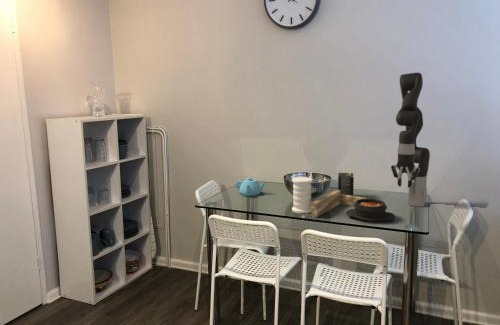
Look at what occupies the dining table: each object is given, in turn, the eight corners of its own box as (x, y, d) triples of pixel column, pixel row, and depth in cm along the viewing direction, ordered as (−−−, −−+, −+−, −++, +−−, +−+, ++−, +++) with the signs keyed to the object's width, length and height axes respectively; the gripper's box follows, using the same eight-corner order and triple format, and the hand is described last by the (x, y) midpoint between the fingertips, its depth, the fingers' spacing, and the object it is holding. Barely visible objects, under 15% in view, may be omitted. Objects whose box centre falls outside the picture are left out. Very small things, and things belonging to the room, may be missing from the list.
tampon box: (353, 200, 249) (354, 176, 246) (337, 199, 251) (338, 176, 248) (352, 195, 259) (353, 172, 257) (337, 194, 261) (338, 172, 258)
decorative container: (308, 206, 240) (308, 176, 236) (315, 212, 228) (315, 180, 225) (289, 208, 237) (289, 177, 234) (295, 214, 226) (295, 182, 222)
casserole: (396, 215, 221) (397, 199, 219) (392, 226, 205) (393, 210, 203) (349, 210, 231) (349, 195, 230) (342, 220, 215) (342, 205, 213)
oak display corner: (367, 206, 236) (367, 193, 235) (343, 223, 211) (343, 208, 209) (337, 201, 247) (337, 188, 246) (311, 216, 222) (311, 202, 220)
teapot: (252, 189, 279) (252, 174, 277) (267, 194, 268) (266, 177, 265) (234, 193, 270) (233, 177, 268) (248, 198, 259) (247, 181, 256)
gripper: (423, 152, 199) (421, 186, 203) (393, 150, 208) (392, 183, 211) (419, 155, 194) (417, 190, 197) (388, 152, 202) (387, 186, 205)
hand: (404, 186), depth 204 cm, fingers open, 3 cm apart
